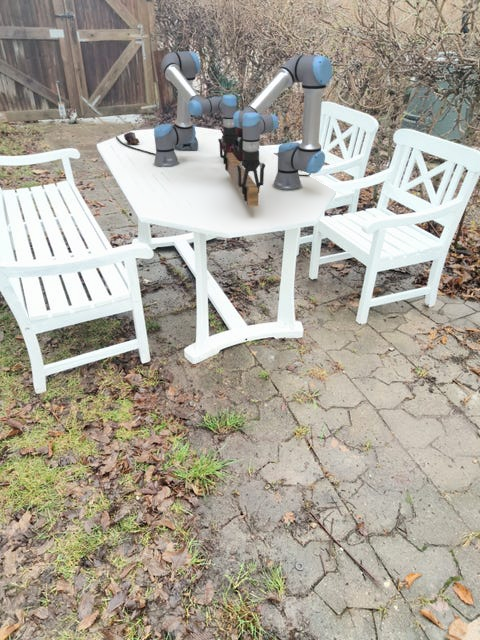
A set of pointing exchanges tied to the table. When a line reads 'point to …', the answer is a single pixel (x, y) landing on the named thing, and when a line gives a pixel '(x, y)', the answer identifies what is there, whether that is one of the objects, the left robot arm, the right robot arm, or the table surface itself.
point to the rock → (131, 138)
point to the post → (250, 185)
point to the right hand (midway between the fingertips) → (250, 200)
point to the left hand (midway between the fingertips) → (230, 169)
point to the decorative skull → (230, 147)
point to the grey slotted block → (188, 145)
